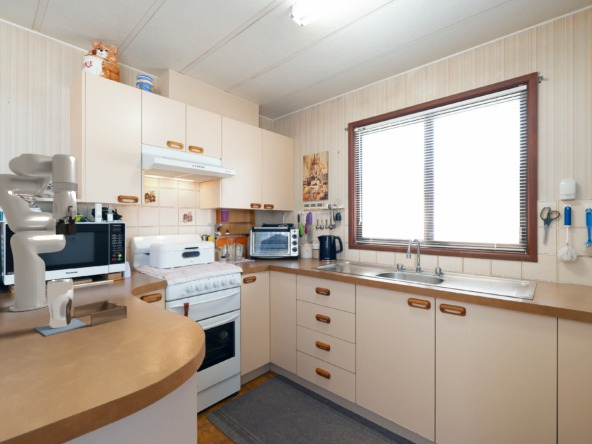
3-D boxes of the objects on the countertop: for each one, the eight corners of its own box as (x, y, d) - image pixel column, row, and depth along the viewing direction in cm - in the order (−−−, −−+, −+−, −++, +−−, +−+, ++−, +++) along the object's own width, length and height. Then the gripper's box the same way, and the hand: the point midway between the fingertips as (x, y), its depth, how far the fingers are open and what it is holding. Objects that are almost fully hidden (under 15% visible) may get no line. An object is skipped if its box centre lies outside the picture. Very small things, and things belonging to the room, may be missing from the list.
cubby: (74, 317, 106) (73, 306, 106) (107, 310, 115) (107, 300, 115) (92, 326, 96) (91, 314, 96) (126, 317, 105) (126, 306, 105)
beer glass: (78, 323, 98) (77, 279, 98) (54, 330, 92) (53, 283, 92) (66, 320, 101) (66, 278, 101) (42, 327, 95) (42, 281, 95)
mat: (34, 328, 95) (34, 327, 95) (74, 319, 104) (74, 318, 104) (45, 336, 88) (45, 335, 88) (87, 325, 97) (87, 324, 97)
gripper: (44, 189, 109) (45, 234, 109) (60, 185, 99) (61, 235, 99) (69, 191, 115) (69, 234, 115) (86, 187, 105) (87, 234, 105)
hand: (65, 234), depth 107 cm, fingers open, 9 cm apart
